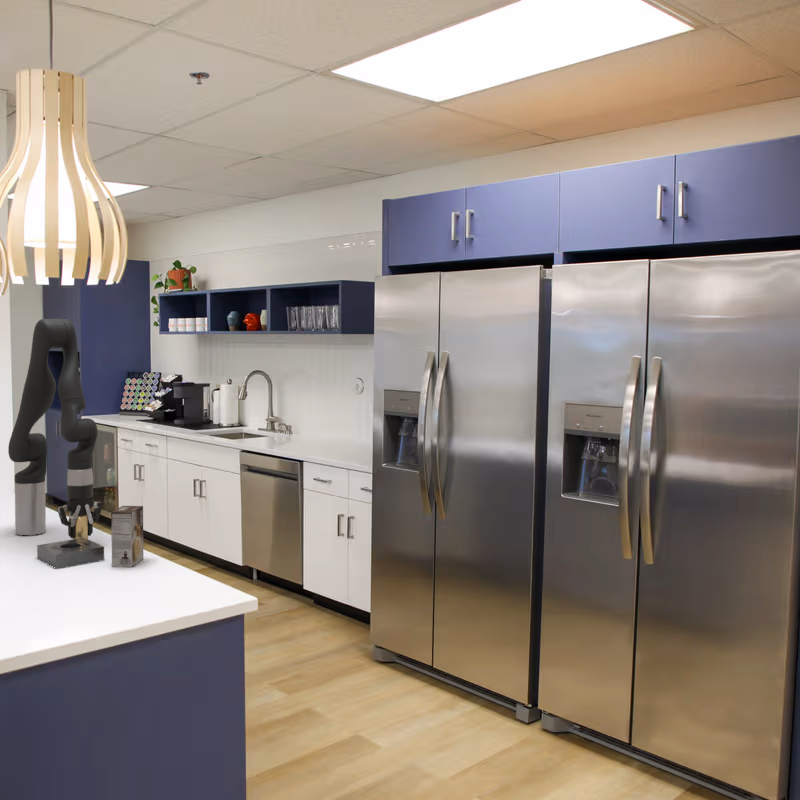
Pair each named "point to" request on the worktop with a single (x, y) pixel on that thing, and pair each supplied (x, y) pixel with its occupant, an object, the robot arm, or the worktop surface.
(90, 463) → the robot arm
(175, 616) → the worktop surface
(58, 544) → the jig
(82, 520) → the bushing
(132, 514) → the coffee box
